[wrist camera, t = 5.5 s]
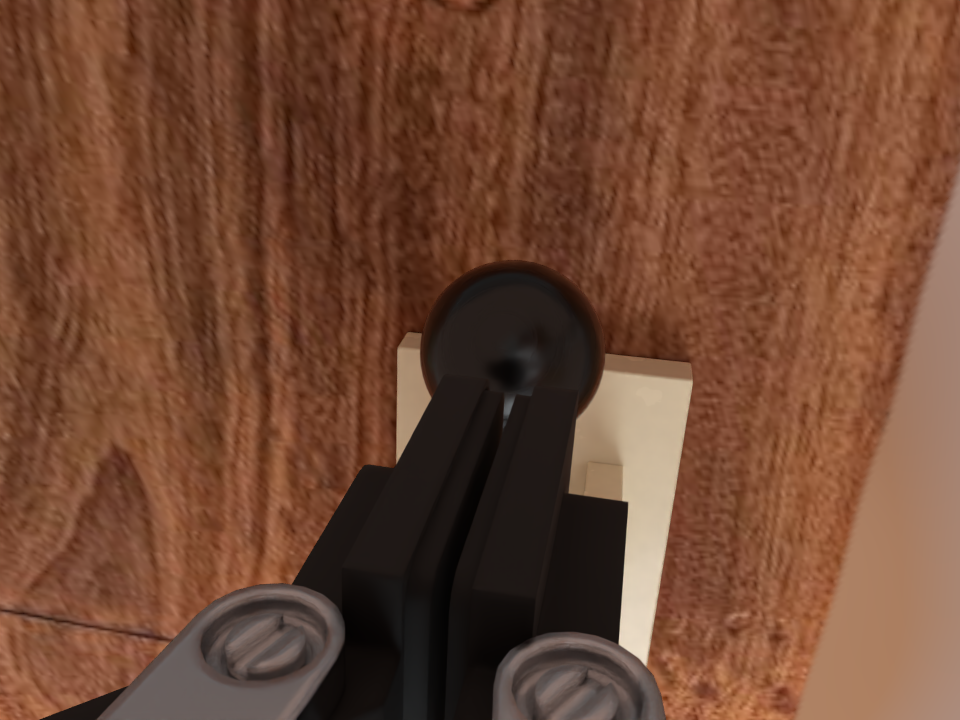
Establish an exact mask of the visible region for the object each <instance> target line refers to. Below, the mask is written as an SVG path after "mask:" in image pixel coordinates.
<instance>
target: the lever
mask: <svg viewBox="0 0 960 720" xmlns="http://www.w3.org/2000/svg"><path fill="white" fill-rule="evenodd" d="M605 354H606V350H605V339H604V334H603V330H602V326H601V323H600V321H599V318H598V315H597V313H596V311H595V309H594V307H593V306H592V304H591V302H590V301H589V299H588V298H587V297H586V295H585V294H584V293H583V292H582V291H581V290H580V289H579V288H578V286H577V285H576V284H574V283H573V282H572V281H571V280H569V279H568V278H567V277H565V276H564V275H562V274H560V273H559V272H557V271H555V270H553V269H551V268H548V267H546V266H543V265H540V264H537V263H533V262H527V261H521V260H506V261H497V262H492V263H488V264H485V265H482V266H479V267H476V268H474V269H472V270H470V271H468V272H466V273H465V274H463V275H462V276H460V277H459V278H457V279H456V280H455V281H453V282H452V283H451V284H450V285H449V286H448V287H447V288H446V289H445V290H444V291H443V292H442V293H441V295H440V296H439V297H438V298H437V300H436V302H435V303H434V305H433V306H432V308H431V310H430V312H429V314H428V316H427V318H426V321H425V324H424V327H423V331H422V336H421V344H420V364H421V370H422V375H423V379H424V382H425V385H426V388H427V390H428V392H429V394H430V396H431V398H432V396H433V394H434V393H435V391H436V389H437V387H438V385H439V383H440V381H441V379H442V378H443V376H444V375H445V374H450V375H458V376H466V377H474V378H482V379H489V383H490V391H494V392H502V393H504V416H503V432H504V429H505V426H506V423H507V420H508V417H509V414H510V411H511V408H512V405H513V402H514V400H515V397H516V395H517V394H518V395H526V396H532V392H533V389H534V387H535V385H538V386H546V387H554V388H562V389H570V390H578V391H579V397H578V408H577V418H576V420H577V419H578V418H579V417H580V416H581V415H582V414H583V413H584V412H585V410H586V409H587V408H588V406H589V405H590V403H591V402H592V400H593V399H594V397H595V395H596V393H597V391H598V388H599V386H600V383H601V380H602V377H603V372H604V367H605ZM503 432H502V434H503Z"/></svg>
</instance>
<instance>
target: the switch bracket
mask: <svg viewBox="0 0 960 720" xmlns="http://www.w3.org/2000/svg"><path fill="white" fill-rule="evenodd" d="M421 336H422V333H413V332H408V333H407V334H406V335H405V337H404V338H403V340H402V342H401V343H400V345H399V346H398V348H397V430H396V464H397V462H398V460H399V458H400V456H401V455H402V453H403V451H404V449H405V447H406V445H407V443H408V441H409V440H410V438H411V436H412V434H413V432H414V430H415V428H416V426H417V424H418V423H419V421H420V419H421V417H422V415H423V413H424V411H425V409H426V408H427V406H428V404H429V402H430V400H431V396H430V394H429V392H428V390H427V388H426V385H425V382H424V379H423V375H422V370H421V364H420V344H421ZM692 385H693V377H692V369H691V364H690V363H687V362H678V361H668V360H659V359H650V358H641V357H632V356H623V355H614V354H605V367H604V372H603V377H602V380H601V383H600V386H599V388H598V391H597V393H596V395H595V397H594V399H593V400H592V402H591V403H590V405H589V406H588V408H587V409H586V410H585V412H584V413H583V414H582V415H581V416H580V417H579V418H578V419H577V420H576V427H575V437H574V446H573V456H572V466H571V475H570V485H569V493H570V494H577V495H584V496H591V497H598V498H605V499H612V500H619V501H626V502H628V519H627V533H626V547H625V561H624V576H623V590H622V604H621V618H620V633H619V645H621V646H622V647H623V648H625V649H626V650H628V651H629V652H631V653H632V654H633V655H635V656H636V657H638V658H639V659H640V660H641V661H642V663H643V664H644V665H645V666H646V667H647V662H648V656H649V650H650V644H651V637H652V631H653V625H654V619H655V613H656V607H657V601H658V594H659V588H660V582H661V576H662V570H663V564H664V557H665V551H666V545H667V539H668V533H669V527H670V521H671V514H672V508H673V502H674V496H675V490H676V484H677V478H678V471H679V465H680V459H681V453H682V447H683V441H684V434H685V428H686V422H687V416H688V410H689V404H690V398H691V391H692Z"/></svg>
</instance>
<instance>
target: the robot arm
mask: <svg viewBox="0 0 960 720" xmlns="http://www.w3.org/2000/svg"><path fill="white" fill-rule="evenodd" d="M578 397H579V391H578V390H570V389H562V388H554V387H546V386H538V385H535V387H534V389H533V392H532V396H526V395H518V394H517V395H516V397H515V400H514V402H513V405H512V408H511V411H510V414H509V417H508V420H507V423H506V426H505V429H504V432H503V416H504V393H502V392H494V391H490V383H489V379H482V378H474V377H466V376H458V375H450V374H445V375H444V376H443V378H442V379H441V381H440V383H439V385H438V387H437V389H436V391H435V393H434V394H433V396H432V398H431V400H430V402H429V404H428V406H427V408H426V409H425V411H424V413H423V415H422V417H421V419H420V421H419V423H418V424H417V426H416V428H415V430H414V432H413V434H412V436H411V438H410V440H409V441H408V443H407V445H406V447H405V449H404V451H403V453H402V455H401V456H400V458H399V460H398V462H397V464H396V466H395V468H389V467H382V466H375V465H365V466H363V468H362V469H361V470H360V471H359V473H358V474H357V476H356V478H355V479H354V481H353V483H352V484H351V486H350V488H349V489H348V491H347V493H346V495H345V496H344V498H343V500H342V501H341V503H340V505H339V506H338V508H337V510H336V511H335V513H334V515H333V516H332V518H331V520H330V521H329V523H328V525H327V526H326V528H325V530H324V531H323V533H322V535H321V536H320V538H319V540H318V541H317V543H316V545H315V546H314V548H313V550H312V551H311V553H310V555H309V556H308V558H307V560H306V562H305V563H304V565H303V567H302V568H301V570H300V572H299V573H298V575H297V577H296V578H295V580H294V582H293V583H292V585H290V584H284V583H280V584H259V585H255V586H251V587H247V588H243V589H239V590H236V591H234V592H231V593H229V594H227V595H225V596H223V597H221V598H219V599H217V600H215V601H213V602H212V603H211V604H210V605H208V606H207V607H206V608H205V609H203V610H202V611H201V612H200V613H198V614H197V615H196V616H195V617H194V618H193V619H192V620H191V622H190V623H189V624H188V625H187V626H186V627H185V628H184V629H183V630H182V631H181V632H180V633H179V634H178V635H177V636H176V637H175V638H174V639H173V640H172V641H171V642H170V643H169V644H168V645H167V646H166V648H165V649H164V650H163V651H162V652H161V653H160V654H159V655H158V656H157V657H156V658H155V659H154V660H153V661H152V662H151V663H150V664H149V665H148V666H147V667H146V668H145V669H144V670H143V671H142V673H141V674H140V675H139V676H138V677H137V678H136V679H135V680H134V681H133V682H132V683H131V684H130V685H129V686H127V687H124V688H121V689H119V690H116V691H113V692H111V693H108V694H106V695H103V696H100V697H98V698H95V699H92V700H90V701H87V702H85V703H82V704H79V705H77V706H74V707H71V708H69V709H66V710H64V711H61V712H58V713H56V714H53V715H50V716H48V717H45V718H43V719H40V720H666V717H665V712H664V707H663V702H662V696H661V693H660V691H659V688H658V686H657V683H656V681H655V678H654V676H653V674H652V673H651V672H650V671H649V670H648V669H647V667H646V666H645V665H644V664H643V663H642V661H641V660H640V659H639V658H638V657H636V656H635V655H633V654H632V653H631V652H629V651H628V650H626V649H625V648H623V647H622V646H621V645H619V633H620V618H621V604H622V590H623V576H624V561H625V547H626V533H627V519H628V502H626V501H619V500H612V499H605V498H598V497H591V496H584V495H577V494H570V493H569V485H570V475H571V466H572V456H573V446H574V437H575V427H576V418H577V408H578ZM502 432H503V434H502Z"/></svg>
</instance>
